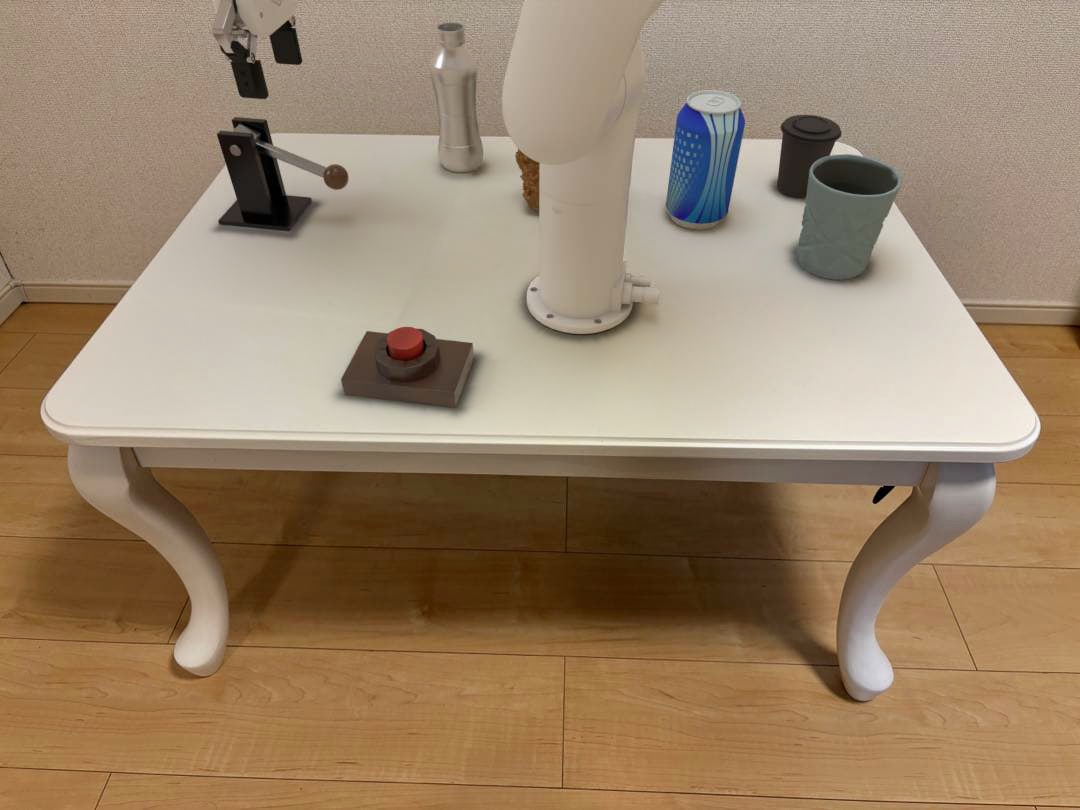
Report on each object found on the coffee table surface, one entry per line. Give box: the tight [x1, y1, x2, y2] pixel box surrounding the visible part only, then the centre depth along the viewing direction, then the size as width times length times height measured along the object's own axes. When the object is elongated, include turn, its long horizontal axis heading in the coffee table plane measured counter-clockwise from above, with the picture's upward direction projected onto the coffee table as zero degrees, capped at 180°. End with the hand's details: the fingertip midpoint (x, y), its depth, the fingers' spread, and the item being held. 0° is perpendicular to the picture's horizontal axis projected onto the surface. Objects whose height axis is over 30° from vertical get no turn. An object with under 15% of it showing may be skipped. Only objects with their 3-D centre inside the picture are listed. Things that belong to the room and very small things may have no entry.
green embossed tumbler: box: [796, 153, 903, 281], centre depth 93 cm, size 10×10×12 cm
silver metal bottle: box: [428, 22, 484, 174], centre depth 108 cm, size 6×7×20 cm
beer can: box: [665, 89, 746, 230], centre depth 99 cm, size 8×8×16 cm
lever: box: [231, 124, 350, 191], centre depth 98 cm, size 15×3×3 cm, turn 80°
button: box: [387, 326, 424, 361], centre depth 79 cm, size 4×4×2 cm
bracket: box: [216, 116, 313, 232], centre depth 101 cm, size 10×8×13 cm
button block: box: [340, 327, 475, 409], centre depth 80 cm, size 12×8×4 cm, turn 80°
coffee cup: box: [776, 114, 842, 199], centre depth 106 cm, size 8×8×10 cm
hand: (272, 79), depth 87 cm, fingers open, 9 cm apart
